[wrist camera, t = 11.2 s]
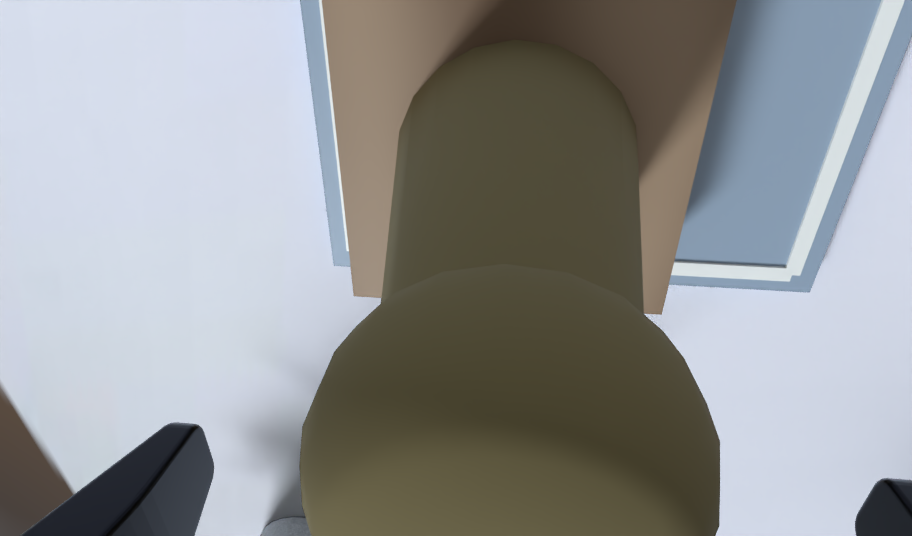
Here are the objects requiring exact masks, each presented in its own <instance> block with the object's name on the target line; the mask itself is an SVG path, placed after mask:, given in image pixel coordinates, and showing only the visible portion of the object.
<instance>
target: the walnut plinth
mask: <svg viewBox="0 0 912 536" xmlns="http://www.w3.org/2000/svg"><path fill="white" fill-rule="evenodd" d="M736 1H737V0H322V8H323V17H324V26H325V36H326V45H327V54H328V63H329V72H330V82H331V91H332V100H333V109H334V118H335V128H336V137H337V146H338V155H339V164H340V174H341V183H342V192H343V201H344V210H345V220H346V229H347V238H348V247H349V256H350V266H351V275H352V284H353V293H354V296H360V297H376V298H382V288H383V279H384V270H385V260H386V251H387V242H388V232H389V223H390V214H391V204H392V195H393V185H394V176H395V167H396V157H397V148H398V139H399V130H400V128H401V125H402V123H403V120H404V118H405V115H406V113H407V110H408V108H409V106H410V103H411V101H412V98H413V96H414V95H415V94H416V93H417V92H418V91H419V89H420V88H421V87H422V86H423V85H424V84H425V83H426V82H427V80H428V79H429V78H430V77H431V76H432V75H433V74H434V72H435V71H436V70H437V69H438V68H439V67H441V66H443V65H444V64H446V63H448V62H450V61H451V60H453V59H455V58H457V57H458V56H460V55H462V54H464V53H465V52H467V51H469V50H471V49H472V48H475V47H480V46H485V45H490V44H495V43H500V42H505V41H510V40H522V41H530V42H538V43H546V44H554V45H558V46H560V47H562V48H564V49H566V50H568V51H570V52H572V53H574V54H576V55H578V56H580V57H582V58H584V59H586V60H588V61H590V62H592V63H594V64H595V65H596V66H597V67H598V68H599V69H600V70H601V71H602V72H603V73H604V75H605V76H606V77H607V78H608V79H609V80H610V81H611V82H612V83H613V84H614V85H615V86H616V87H617V88H618V89H619V90H620V91H621V93H622V95H623V97H624V100H625V102H626V104H627V107H628V109H629V111H630V113H631V116H632V118H633V120H634V122H635V125H636V135H637V151H638V170H639V196H640V222H641V248H642V273H643V299H644V314H661V315H662V310H663V306H664V302H665V298H666V294H667V290H668V285H669V281H670V277H671V273H672V269H673V265H674V260H675V256H676V252H677V248H678V244H679V239H680V235H681V231H682V227H683V223H684V219H685V214H686V210H687V206H688V202H689V198H690V194H691V189H692V185H693V181H694V177H695V173H696V168H697V164H698V160H699V156H700V152H701V148H702V143H703V139H704V135H705V131H706V127H707V123H708V118H709V114H710V110H711V106H712V102H713V98H714V93H715V89H716V85H717V81H718V77H719V72H720V68H721V64H722V60H723V56H724V52H725V47H726V43H727V39H728V35H729V31H730V27H731V22H732V18H733V14H734V10H735V6H736Z"/></svg>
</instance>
